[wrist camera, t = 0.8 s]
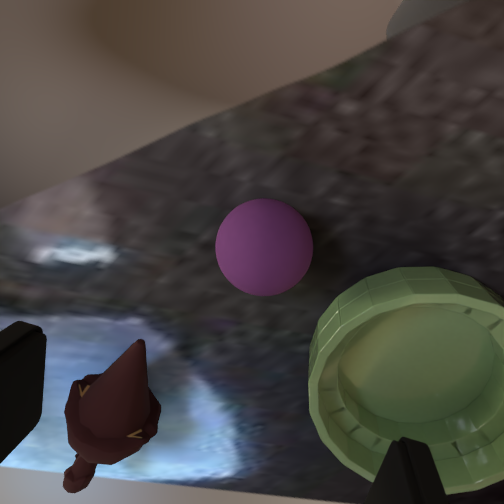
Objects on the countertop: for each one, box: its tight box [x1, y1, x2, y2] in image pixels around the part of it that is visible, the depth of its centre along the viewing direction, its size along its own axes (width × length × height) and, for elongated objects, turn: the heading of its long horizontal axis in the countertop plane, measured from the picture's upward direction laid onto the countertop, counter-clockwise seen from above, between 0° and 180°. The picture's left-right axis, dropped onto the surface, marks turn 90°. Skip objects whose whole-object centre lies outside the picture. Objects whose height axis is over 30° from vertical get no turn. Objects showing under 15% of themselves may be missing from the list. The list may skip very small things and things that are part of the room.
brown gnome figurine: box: [63, 339, 161, 493], centre depth 30 cm, size 7×7×15 cm
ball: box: [216, 198, 313, 296], centre depth 24 cm, size 6×6×6 cm
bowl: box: [308, 267, 504, 495], centre depth 26 cm, size 14×14×5 cm
